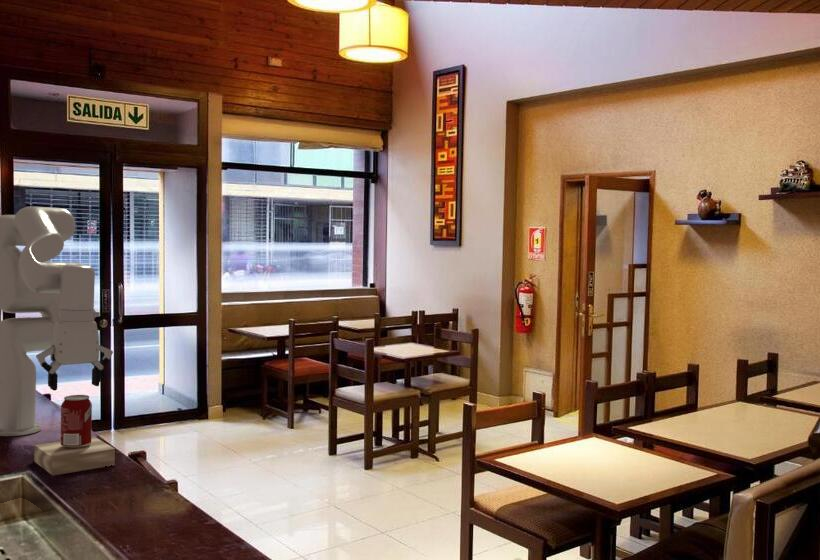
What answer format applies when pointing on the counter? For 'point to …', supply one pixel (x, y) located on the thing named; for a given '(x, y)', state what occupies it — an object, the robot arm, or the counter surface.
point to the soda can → (76, 421)
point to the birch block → (73, 457)
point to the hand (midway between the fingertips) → (74, 387)
